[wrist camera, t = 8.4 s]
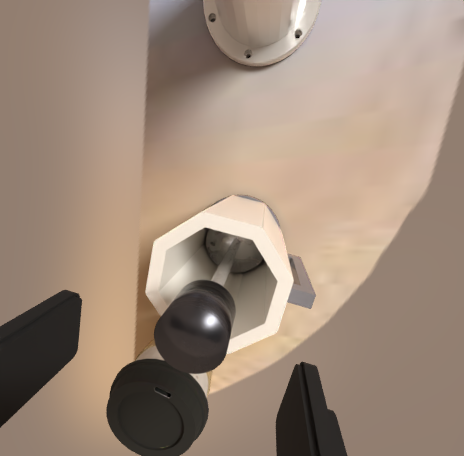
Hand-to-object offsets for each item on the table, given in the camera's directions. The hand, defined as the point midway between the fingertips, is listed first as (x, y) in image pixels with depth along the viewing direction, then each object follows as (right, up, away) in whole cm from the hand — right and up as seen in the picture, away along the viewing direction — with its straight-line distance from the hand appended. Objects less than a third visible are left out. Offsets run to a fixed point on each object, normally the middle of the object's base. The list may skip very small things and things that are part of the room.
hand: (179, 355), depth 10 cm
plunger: (+3, +4, +19) cm, 20 cm away
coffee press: (+3, +4, +23) cm, 23 cm away
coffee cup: (-3, -9, +27) cm, 28 cm away
